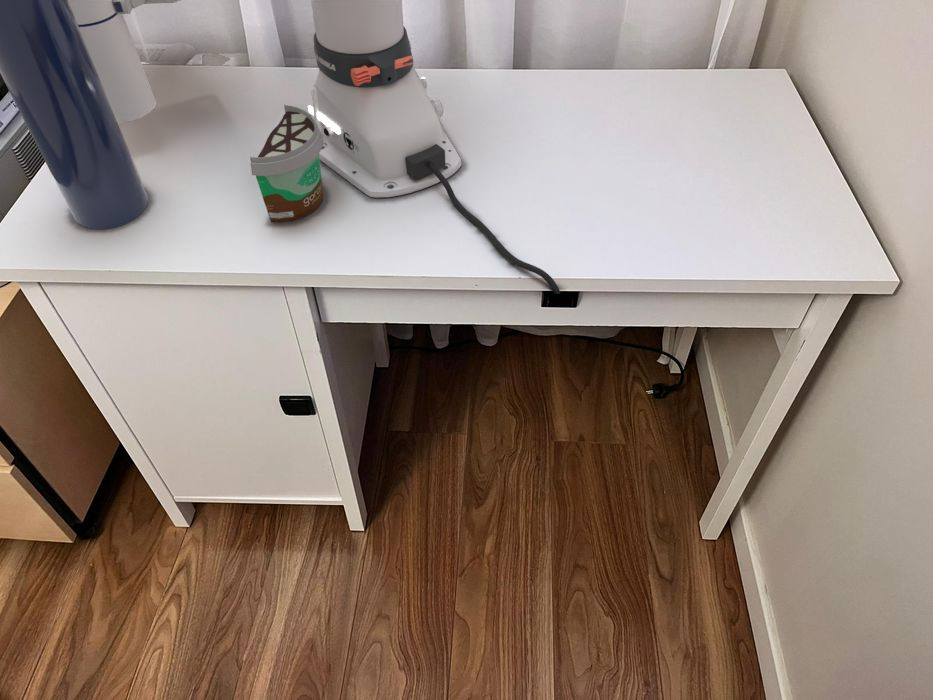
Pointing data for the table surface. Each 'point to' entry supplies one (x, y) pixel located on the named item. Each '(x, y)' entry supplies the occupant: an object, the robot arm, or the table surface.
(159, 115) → the table surface
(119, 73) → the cylindrical container
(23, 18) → the vase
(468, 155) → the table surface
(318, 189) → the food container
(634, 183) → the table surface
